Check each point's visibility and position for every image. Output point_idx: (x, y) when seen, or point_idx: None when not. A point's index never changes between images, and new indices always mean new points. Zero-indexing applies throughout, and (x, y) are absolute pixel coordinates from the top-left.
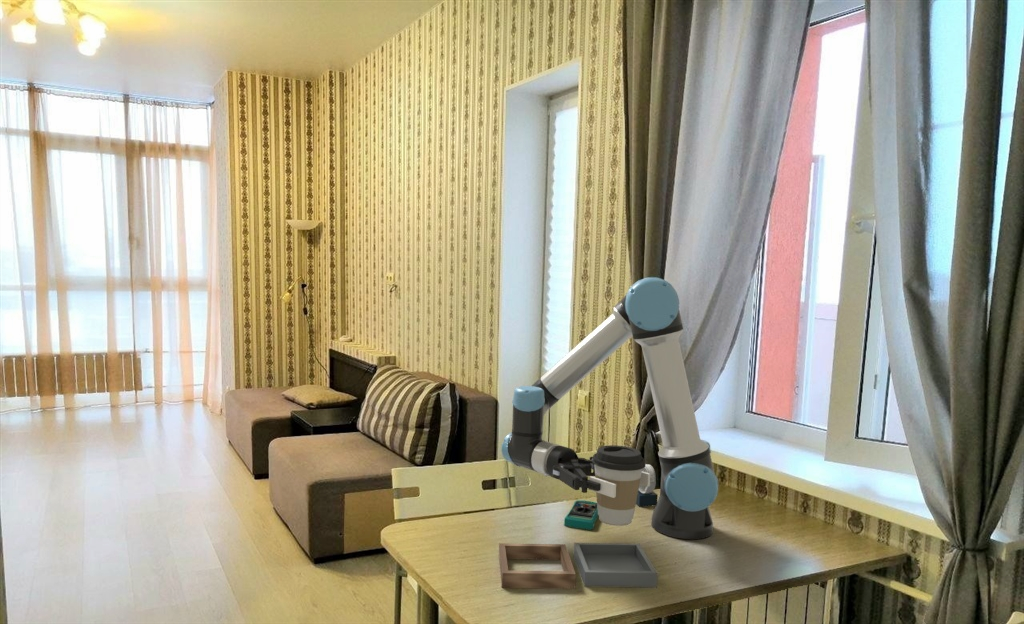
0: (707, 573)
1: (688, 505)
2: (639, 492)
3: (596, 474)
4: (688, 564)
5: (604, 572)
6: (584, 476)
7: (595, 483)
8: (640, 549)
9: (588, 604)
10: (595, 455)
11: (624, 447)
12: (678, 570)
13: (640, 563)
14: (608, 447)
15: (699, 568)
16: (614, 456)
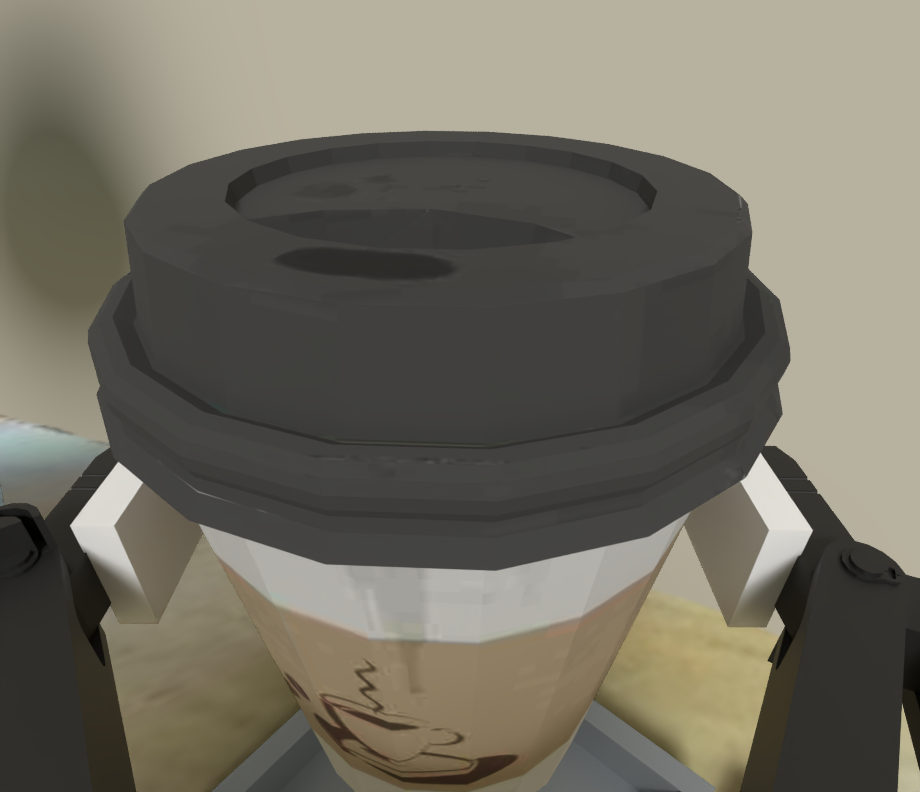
0: (199, 572)
1: (1, 496)
2: None
3: (689, 512)
4: (149, 650)
5: (623, 721)
6: (877, 564)
7: (783, 468)
8: (247, 775)
9: (763, 697)
10: (678, 399)
11: (217, 193)
12: (235, 645)
13: (307, 764)
14: (392, 253)
15: (168, 607)
16: (666, 159)
